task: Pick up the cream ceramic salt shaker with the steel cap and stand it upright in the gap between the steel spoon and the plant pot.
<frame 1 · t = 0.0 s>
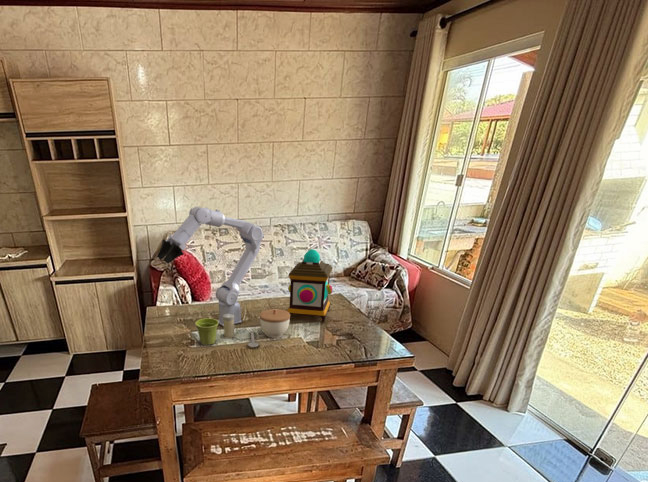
hand: (162, 260, 158), 32 cm above the table, tool tilted 50°, fingers open, 7 cm apart
shaker: (229, 335, 172), on the table
lidded bowl: (274, 334, 172), on the table
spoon: (252, 340, 167), on the table
decorative lantern: (308, 315, 190), on the table
plant pot: (208, 342, 167), on the table
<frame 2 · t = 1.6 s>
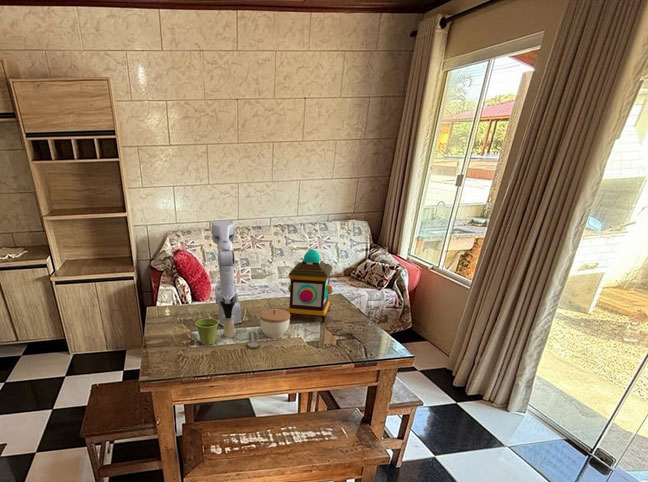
hand: (228, 314, 168), 9 cm above the table, tool pointing down, fingers open, 7 cm apart
nothing on the table moved.
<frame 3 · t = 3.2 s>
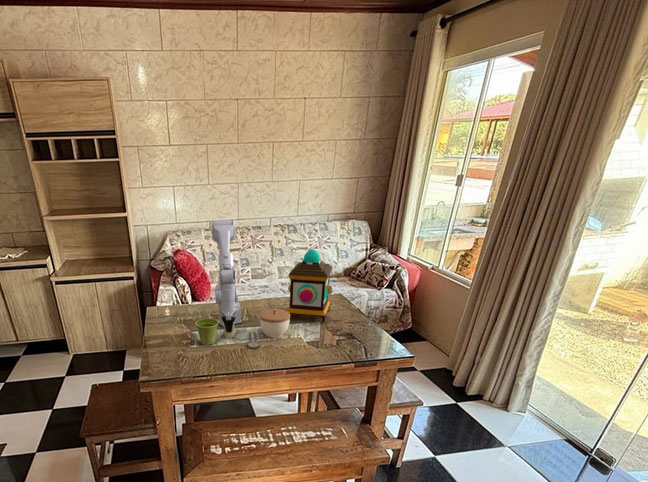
hand: (229, 329, 171), 3 cm above the table, tool pointing down, fingers closed on shaker, 4 cm apart
shaker: (229, 335, 172), on the table, touching gripper
everything else where it was.
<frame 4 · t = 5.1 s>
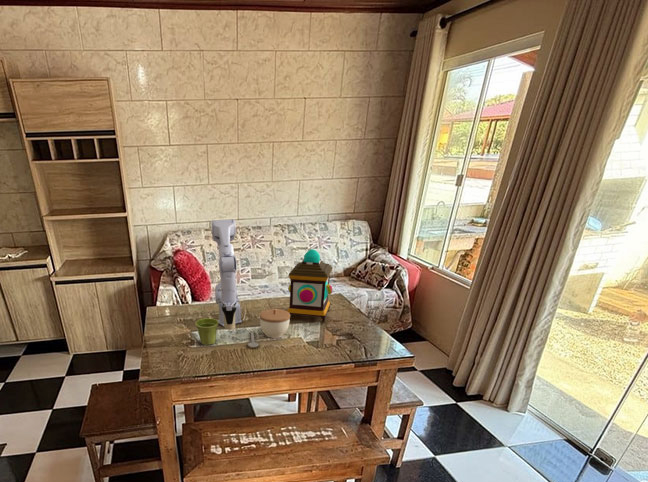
hand: (229, 321, 163), 9 cm above the table, tool pointing down, fingers closed on shaker, 4 cm apart
shaker: (229, 327, 164), point 6 cm above the table, touching gripper
everything else where it was.
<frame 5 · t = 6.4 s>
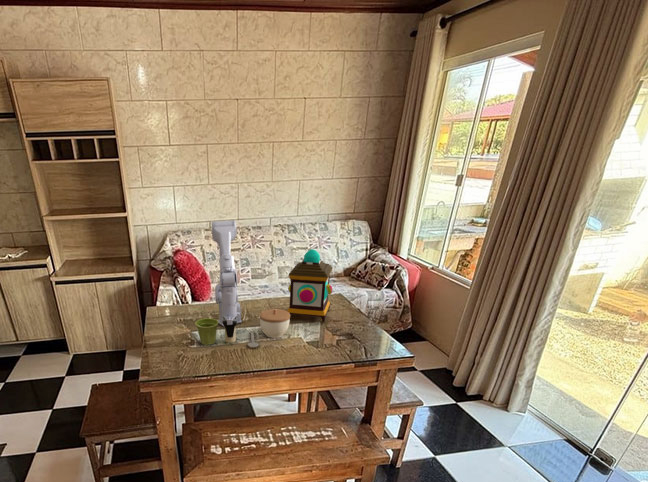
hand: (230, 334, 166), 3 cm above the table, tool pointing down, fingers closed on shaker, 4 cm apart
shaker: (230, 340, 167), on the table, touching gripper
everything else where it was.
when the fingers open (3 cm above the table, at t = 7.0 s): shaker stays where it is, on the table.
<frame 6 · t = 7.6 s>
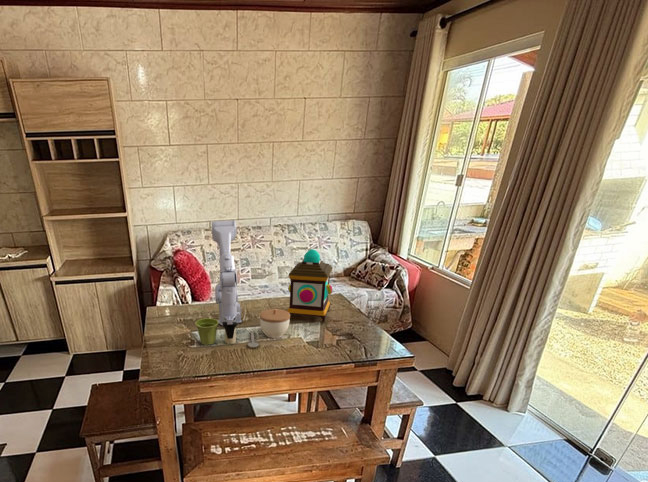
hand: (230, 334, 165), 3 cm above the table, tool pointing down, fingers open, 7 cm apart
shaker: (230, 341, 167), on the table
everything else where it was.
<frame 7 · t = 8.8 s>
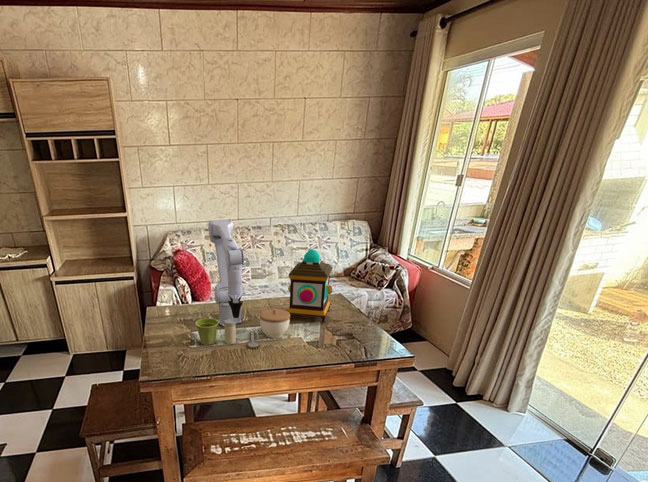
hand: (235, 314, 165), 10 cm above the table, tool pointing down, fingers open, 7 cm apart
nothing on the table moved.
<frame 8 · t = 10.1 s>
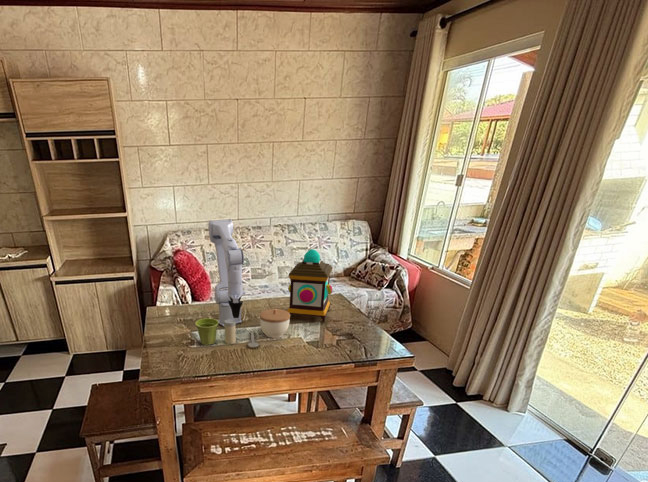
hand: (235, 314, 165), 10 cm above the table, tool pointing down, fingers open, 7 cm apart
nothing on the table moved.
at the end: shaker 0.0 cm from the target spot, on the table; shaker tilted 0°; the gripper is holding nothing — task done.
